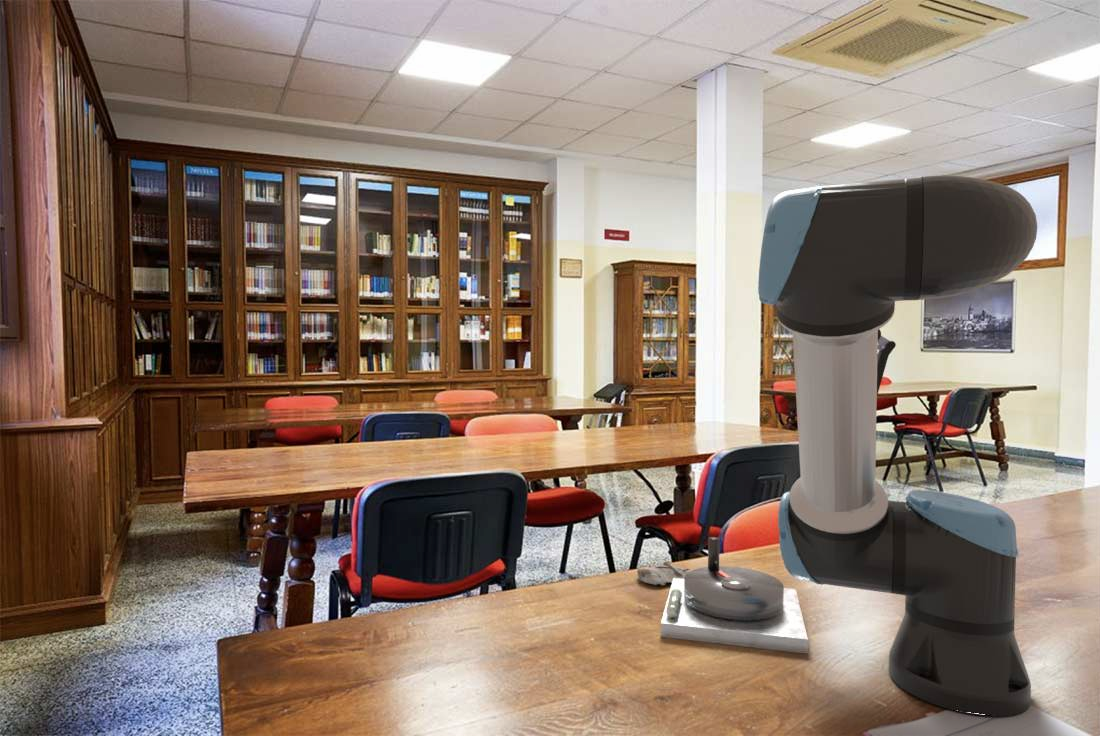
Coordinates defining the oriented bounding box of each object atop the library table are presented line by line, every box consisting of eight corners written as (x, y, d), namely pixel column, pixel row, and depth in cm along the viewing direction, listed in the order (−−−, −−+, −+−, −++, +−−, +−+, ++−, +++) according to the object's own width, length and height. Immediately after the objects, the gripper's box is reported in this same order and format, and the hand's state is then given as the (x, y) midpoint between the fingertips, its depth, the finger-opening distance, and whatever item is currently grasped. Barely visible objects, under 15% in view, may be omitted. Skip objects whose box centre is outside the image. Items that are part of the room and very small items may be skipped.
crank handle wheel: (801, 601, 106) (801, 550, 105) (751, 629, 95) (752, 572, 95) (717, 577, 116) (718, 531, 116) (664, 599, 106) (665, 549, 106)
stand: (807, 653, 93) (808, 626, 93) (660, 636, 98) (661, 610, 98) (795, 601, 112) (795, 578, 112) (673, 589, 117) (673, 567, 117)
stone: (674, 571, 127) (674, 557, 127) (698, 583, 121) (698, 569, 121) (631, 579, 123) (631, 564, 123) (653, 591, 117) (653, 576, 117)
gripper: (890, 300, 114) (888, 439, 114) (808, 301, 117) (806, 436, 118) (902, 296, 106) (899, 446, 107) (813, 298, 110) (811, 442, 111)
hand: (850, 441), depth 113 cm, fingers closed
